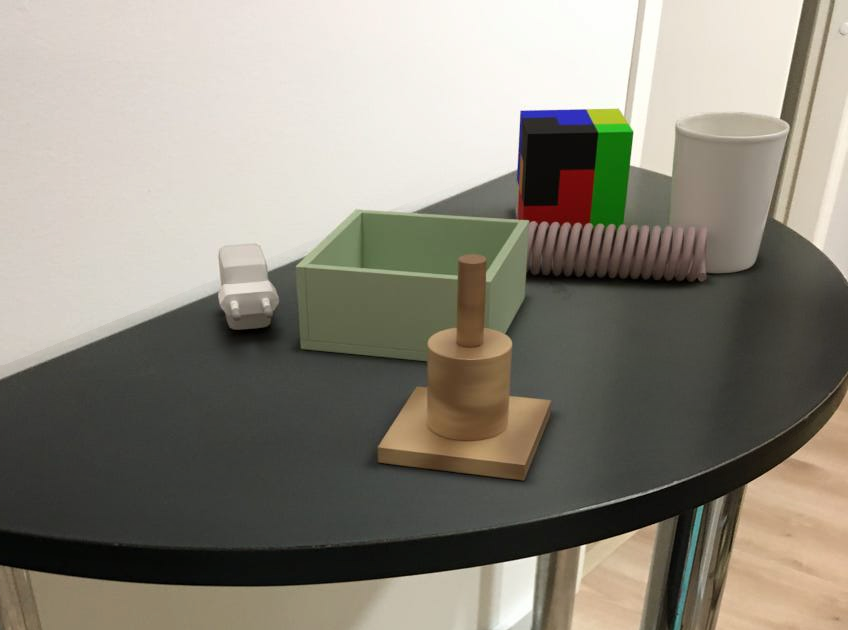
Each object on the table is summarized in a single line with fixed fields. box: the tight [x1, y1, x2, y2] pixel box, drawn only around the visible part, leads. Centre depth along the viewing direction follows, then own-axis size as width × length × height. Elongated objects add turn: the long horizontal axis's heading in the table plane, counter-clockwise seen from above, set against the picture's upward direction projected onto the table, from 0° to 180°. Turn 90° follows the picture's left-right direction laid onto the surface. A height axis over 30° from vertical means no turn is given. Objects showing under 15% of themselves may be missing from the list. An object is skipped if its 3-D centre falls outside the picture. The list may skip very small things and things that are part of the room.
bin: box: [295, 208, 529, 362], centre depth 93 cm, size 16×16×7 cm
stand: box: [377, 254, 552, 481], centre depth 73 cm, size 10×10×12 cm
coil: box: [526, 221, 708, 282], centre depth 101 cm, size 5×5×18 cm
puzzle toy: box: [514, 108, 635, 234], centre depth 112 cm, size 10×10×10 cm
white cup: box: [667, 111, 791, 274], centre depth 102 cm, size 10×10×12 cm
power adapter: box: [217, 243, 280, 331], centre depth 92 cm, size 11×5×6 cm, turn 10°
